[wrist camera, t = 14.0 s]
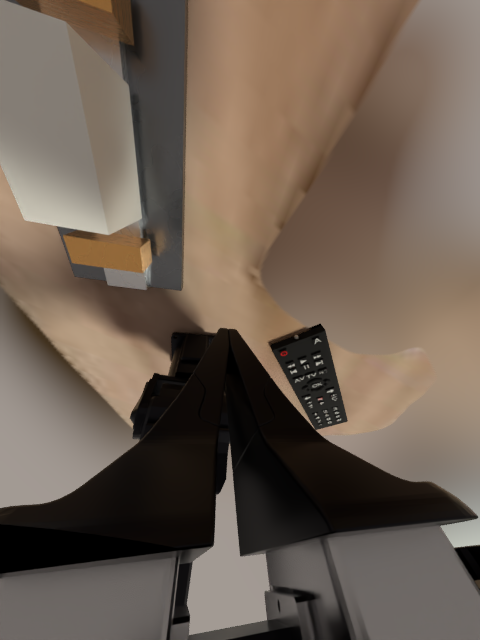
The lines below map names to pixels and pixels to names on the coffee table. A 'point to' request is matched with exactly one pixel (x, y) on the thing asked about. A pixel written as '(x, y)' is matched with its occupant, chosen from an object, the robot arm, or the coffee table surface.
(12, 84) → the plain light gray block
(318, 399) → the remote control
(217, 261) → the coffee table surface
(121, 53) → the rail mount
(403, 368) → the coffee table surface
